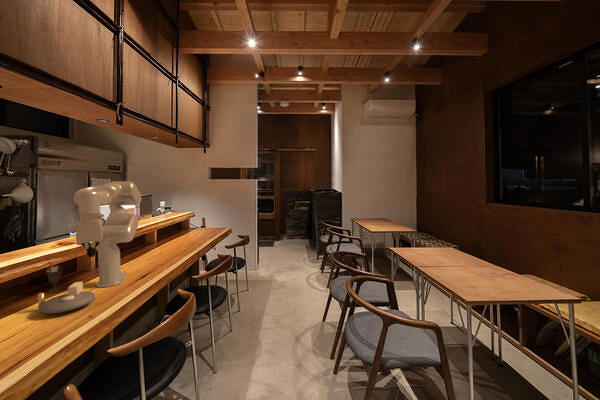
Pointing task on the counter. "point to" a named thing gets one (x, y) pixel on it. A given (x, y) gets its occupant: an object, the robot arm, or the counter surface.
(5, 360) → the counter surface
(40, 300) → the brown rounded oblong piece
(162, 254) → the counter surface
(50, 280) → the sundae
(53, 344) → the counter surface
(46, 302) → the disc
